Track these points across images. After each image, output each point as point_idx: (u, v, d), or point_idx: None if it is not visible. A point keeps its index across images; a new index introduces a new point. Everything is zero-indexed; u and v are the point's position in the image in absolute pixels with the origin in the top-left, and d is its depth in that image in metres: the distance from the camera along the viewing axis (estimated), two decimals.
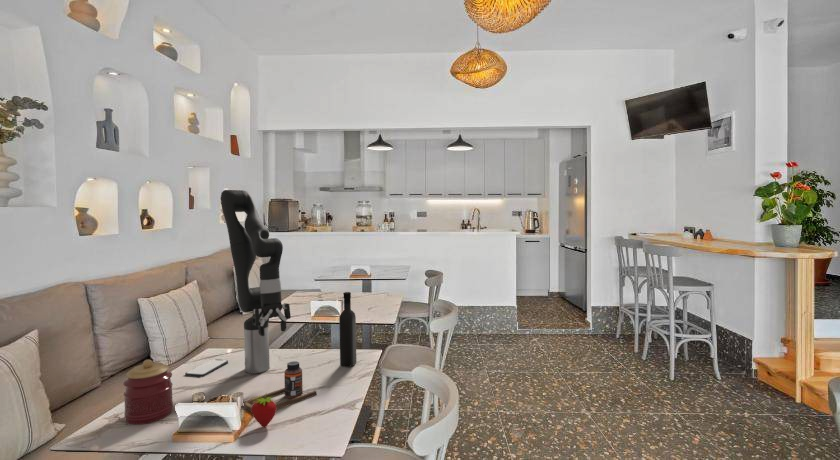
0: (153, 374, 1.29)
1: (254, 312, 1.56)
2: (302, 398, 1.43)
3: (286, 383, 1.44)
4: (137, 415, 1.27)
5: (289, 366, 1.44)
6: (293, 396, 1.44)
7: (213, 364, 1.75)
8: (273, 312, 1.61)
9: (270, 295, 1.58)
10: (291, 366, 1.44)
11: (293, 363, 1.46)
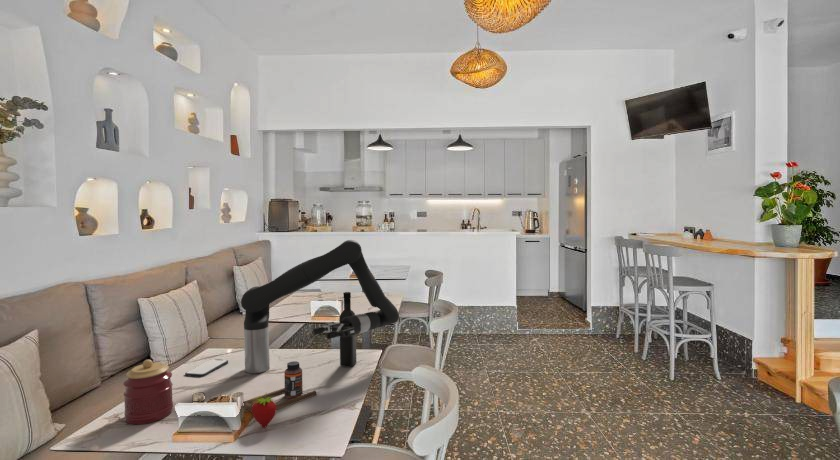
0: (153, 374, 1.29)
1: (352, 332, 1.56)
2: (302, 398, 1.43)
3: (286, 383, 1.44)
4: (137, 415, 1.27)
5: (289, 366, 1.44)
6: (293, 396, 1.44)
7: (213, 364, 1.75)
8: None
9: (356, 334, 1.64)
10: (291, 366, 1.44)
11: (293, 363, 1.46)
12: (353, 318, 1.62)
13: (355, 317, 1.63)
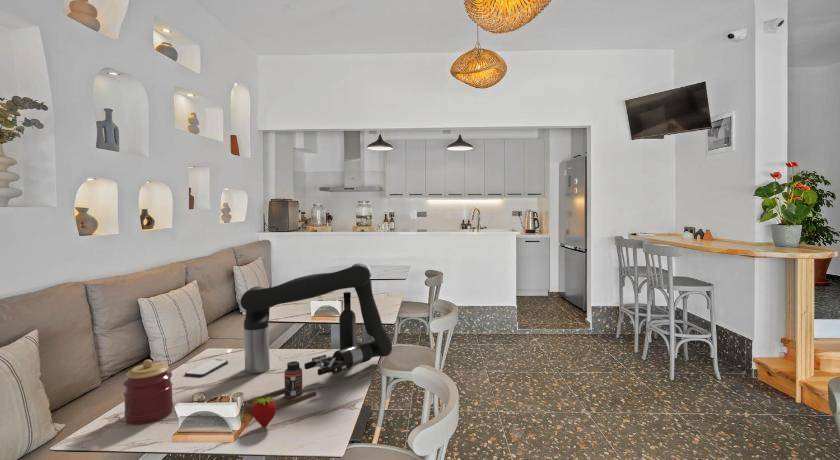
0: (153, 374, 1.29)
1: (344, 367, 1.54)
2: (302, 398, 1.43)
3: (286, 383, 1.44)
4: (137, 415, 1.27)
5: (289, 366, 1.44)
6: (293, 396, 1.44)
7: (212, 364, 1.75)
8: None
9: None
10: (291, 366, 1.44)
11: (293, 363, 1.46)
12: (345, 352, 1.60)
13: (347, 351, 1.61)
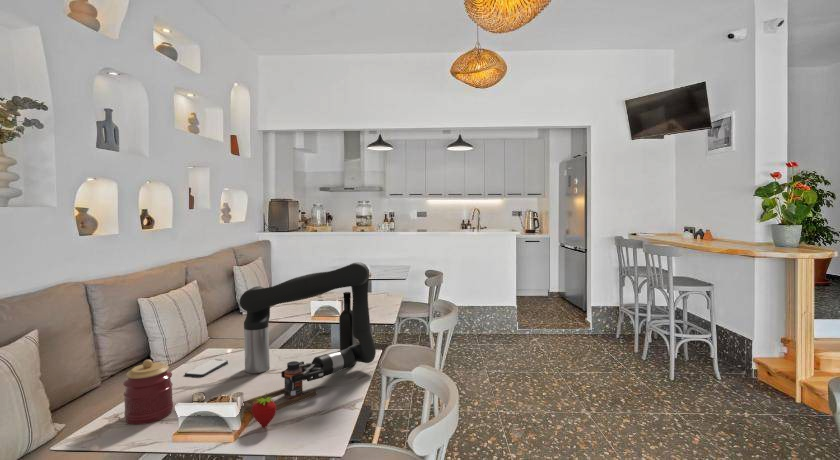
0: (153, 374, 1.29)
1: (320, 375, 1.46)
2: (302, 398, 1.43)
3: (286, 383, 1.44)
4: (137, 415, 1.27)
5: (289, 366, 1.44)
6: (293, 396, 1.44)
7: (212, 364, 1.75)
8: None
9: None
10: (291, 366, 1.44)
11: (293, 363, 1.46)
12: (325, 358, 1.54)
13: (327, 357, 1.55)
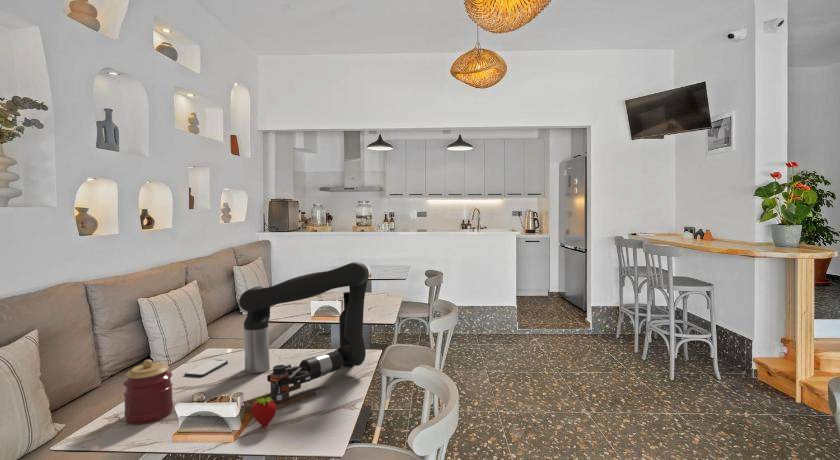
0: (153, 374, 1.29)
1: (307, 379, 1.43)
2: (302, 398, 1.43)
3: (272, 387, 1.40)
4: (137, 415, 1.27)
5: (274, 370, 1.41)
6: (279, 400, 1.40)
7: (212, 364, 1.75)
8: None
9: None
10: (277, 370, 1.40)
11: (279, 367, 1.42)
12: (312, 361, 1.50)
13: (315, 359, 1.51)
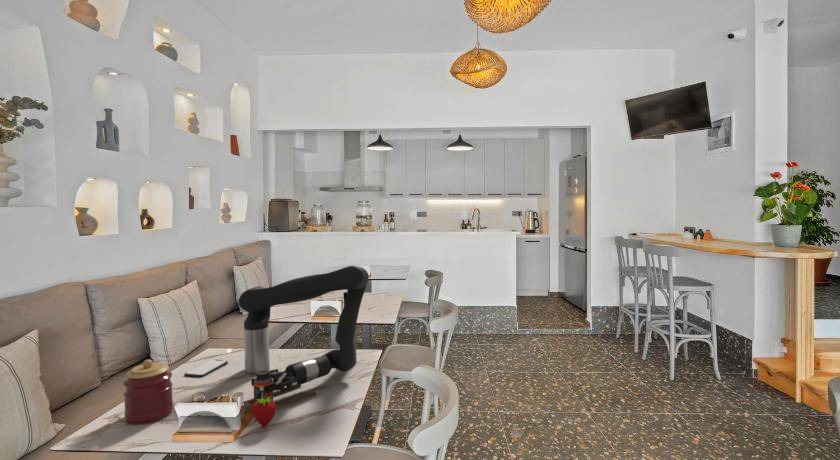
0: (153, 374, 1.29)
1: (294, 384, 1.39)
2: (302, 398, 1.43)
3: (255, 393, 1.36)
4: (137, 415, 1.27)
5: (258, 376, 1.36)
6: None
7: (212, 364, 1.74)
8: None
9: None
10: (260, 375, 1.36)
11: (263, 372, 1.38)
12: (298, 366, 1.46)
13: (301, 365, 1.47)
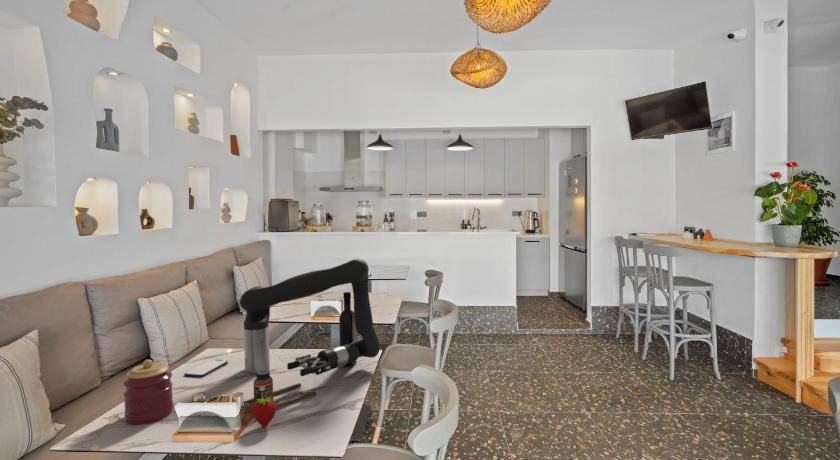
0: (153, 374, 1.29)
1: (328, 368, 1.49)
2: (302, 398, 1.43)
3: (255, 393, 1.36)
4: (137, 415, 1.27)
5: (258, 376, 1.36)
6: None
7: (212, 364, 1.74)
8: None
9: (333, 368, 1.57)
10: (260, 375, 1.36)
11: (263, 372, 1.38)
12: (330, 352, 1.56)
13: (332, 351, 1.57)
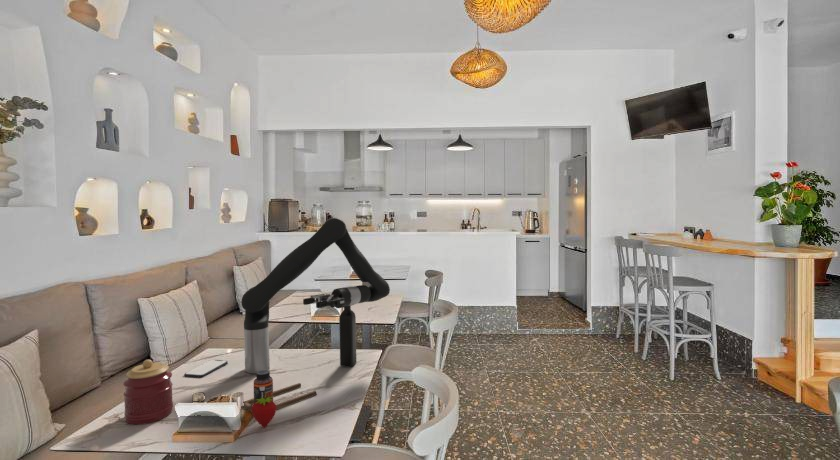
0: (153, 374, 1.29)
1: (342, 302, 1.56)
2: (302, 398, 1.43)
3: (255, 393, 1.36)
4: (137, 415, 1.27)
5: (258, 376, 1.36)
6: None
7: (212, 364, 1.74)
8: None
9: (346, 306, 1.64)
10: (260, 375, 1.36)
11: (263, 372, 1.38)
12: (343, 290, 1.63)
13: (345, 289, 1.64)
